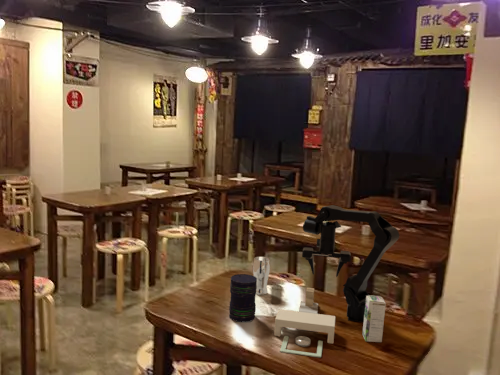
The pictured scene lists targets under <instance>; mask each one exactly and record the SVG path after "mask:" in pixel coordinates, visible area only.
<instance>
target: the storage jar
mask: <svg viewBox="0 0 500 375" xmlns="http://www.w3.org/2000/svg"><path fill="white" fill-rule="evenodd" d="M229 286H230V287H229V288H230V289H229V292H230V301H229V305H228V312H229V315H228V317H229V319H230V320H231V321H233V322H237V323H249V322H253V321H254V320H255V318H256V310H257V309H256V305H257V304H256V292H257V291H256V289H257V278H256V277H255V276H254V275H252V274H246V273H238V274H234V275H232V276H230V285H229Z"/></svg>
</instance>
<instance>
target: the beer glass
mask: <svg viewBox="0 0 500 375" xmlns="http://www.w3.org/2000/svg"><path fill="white" fill-rule="evenodd" d="M270 262H271V260H270V258H269V257H267V256H256V257H254V258H253V265H252V266H253V267H252V271H253V272H252V274H253V276H255V277H256V278H257V289H256V291H257V292H256V294H257V295H258V296H266V295H267V294H268V287H267V286H268V281H269V280H268V279H269V276H270V271H271V270H270V269H271V266H270V264H271V263H270ZM256 294H255V295H256Z"/></svg>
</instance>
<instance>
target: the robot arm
mask: <svg viewBox="0 0 500 375" xmlns="http://www.w3.org/2000/svg"><path fill="white" fill-rule="evenodd" d="M344 220H345V221H352V222H359V223H361V222H362V223H367V224H368V226H369V227H370V230H371V232H372V234H373V235H374V239H373V246H372V249H371V250H370V252H369V253H368V255H367V256H366V258H365V260H364V262H363V263H362V264H361V266H360V268H359V269H358V271H357V273H356V274H354V275H352V276H349V277H347V278H346V282H345V283H344V284H343V285H342V286H343V289H342V292H343V294H344V297H345V302H346V305H347V306H346V308H347V309H346V317H347V320H348V321H351V322H360V323H364V313H365V304H366V296H370V294H369V293H368V292H367V287H368V281H369V279H370V277H371V275H372V274H373V272H374V270H375V269H376V268H377V266H378V264H379V262H380V261H381V259H382V258H383V256H384V255H385V253H386V251H388V250H389V249H390V248H391V247H392V246H394V244H395V243H396V242H397V241H398V240H399V239H400V233H399V230H398V229H397V228H396V227H394V226H393V225H392V224H391V223H390V222H389V221H388V220H387V219H385V218H384V217H383V216H382V215H381V214H380V213H379V212H378V211H370V210H369V211H367V210H366V211H365V210H357V209H347V208H346V209H345V208H343V207H341V206H338V205H334V204H332V205H326V206H322V207H320V210H319V213H318V214H317V215H316V217H315V216H311V215H308V216H306V219H305V221H304V223H303V225H302V229H303V232H304V233H307V234H312V235H316V236H319V235H320V236H319V238H317V239H316V247H317V248H319V250H314V248H313V247H303V249H302V253H301V254H302V255H301V257H302V258H304V260H306V261H308V263H309V266H310V270H311V273H312V275H315V260H314V257H315V256H316V257H326V258H327V257H328V258H335V259H336V258H337V259H338V264H337V268H336V274H335V276H336V278H337V277H338V276H339V274H340V271H341V269H342V268H343V266H344V265H345V264H347V263H350V262H351V260H352V259H351V258H352V255H351V252H350V251H346V250H340V252H335V245H336V244H335V243H336V242H335V240H336V229H338V228H341V227H342V225H341V224H340V223H339V222H338V221H344Z"/></svg>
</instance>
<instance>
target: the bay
mask: <svg viewBox="0 0 500 375" xmlns="http://www.w3.org/2000/svg"><path fill="white" fill-rule="evenodd" d="M289 337H290V336H288V335H284V337H283V340H282V343H281V347H280V349H279V352H280V353H286V354H291V355H301V356H306V357H313V358H318V359H319V358H322V353H323V342H324V341H323V340H318V341H317V348H316V352H315V353H314V352H306V351H300V350H295V349H294V350H292V349H288V348H287V345H288V343H289Z"/></svg>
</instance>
